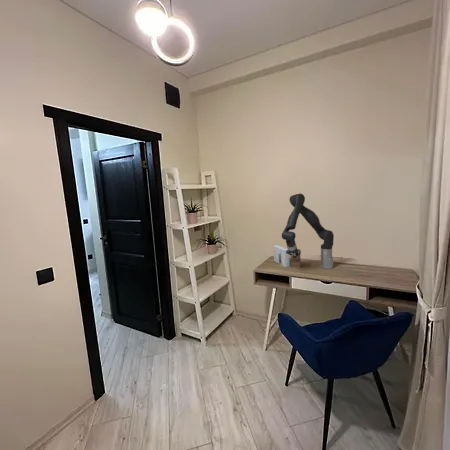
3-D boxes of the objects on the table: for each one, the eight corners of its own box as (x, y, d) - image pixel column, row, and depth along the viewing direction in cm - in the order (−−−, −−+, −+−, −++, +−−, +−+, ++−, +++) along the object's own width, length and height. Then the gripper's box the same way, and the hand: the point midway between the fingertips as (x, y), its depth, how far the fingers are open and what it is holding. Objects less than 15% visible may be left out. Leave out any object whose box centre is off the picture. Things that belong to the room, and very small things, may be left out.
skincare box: (273, 261, 251) (273, 245, 249) (278, 260, 253) (278, 244, 251) (284, 267, 231) (284, 250, 229) (290, 266, 233) (289, 249, 231)
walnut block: (299, 267, 227) (299, 250, 224) (290, 267, 230) (290, 249, 228) (300, 266, 230) (300, 249, 228) (291, 265, 234) (291, 248, 231)
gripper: (300, 243, 213) (303, 253, 225) (284, 242, 218) (288, 253, 231) (299, 251, 209) (302, 261, 221) (283, 250, 214) (286, 260, 227)
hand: (294, 257), depth 226 cm, fingers closed
